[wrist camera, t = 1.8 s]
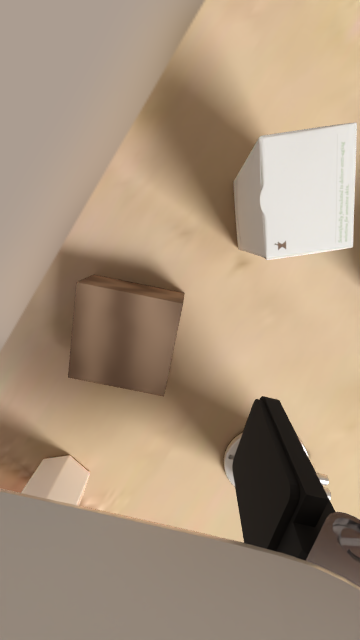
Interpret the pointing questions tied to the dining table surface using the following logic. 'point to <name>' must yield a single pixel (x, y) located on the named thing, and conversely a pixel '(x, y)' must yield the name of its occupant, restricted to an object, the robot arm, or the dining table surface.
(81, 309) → the walnut block
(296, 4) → the dining table surface
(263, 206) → the skincare box
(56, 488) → the hexagonal capped bottle
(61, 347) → the dining table surface
